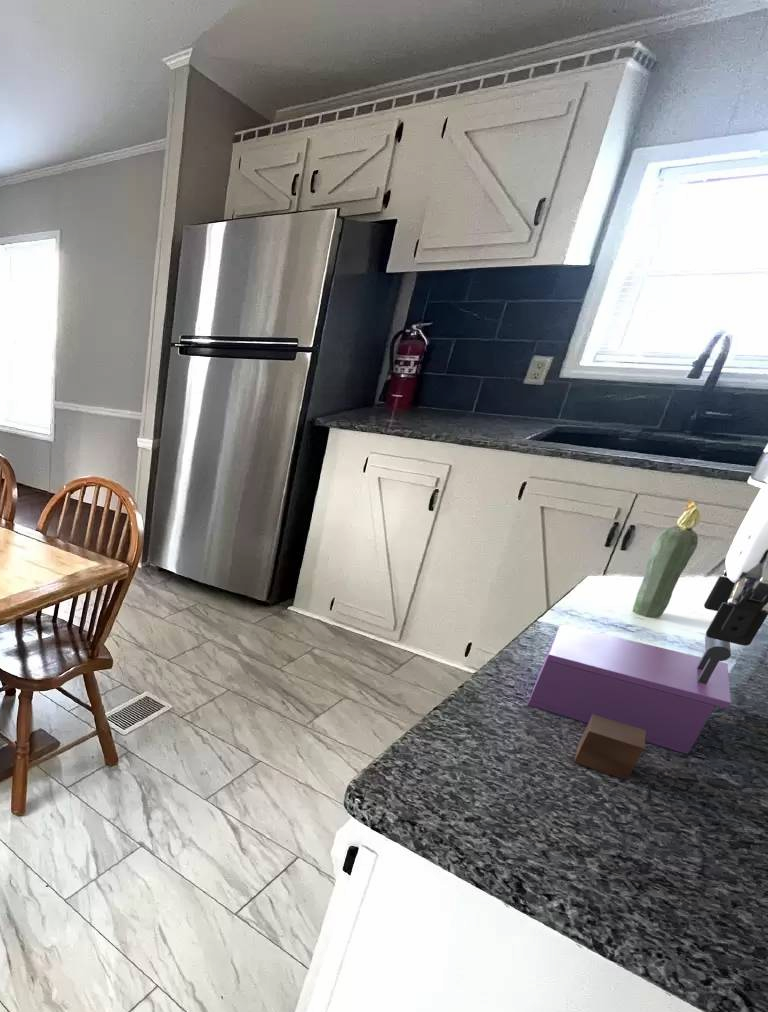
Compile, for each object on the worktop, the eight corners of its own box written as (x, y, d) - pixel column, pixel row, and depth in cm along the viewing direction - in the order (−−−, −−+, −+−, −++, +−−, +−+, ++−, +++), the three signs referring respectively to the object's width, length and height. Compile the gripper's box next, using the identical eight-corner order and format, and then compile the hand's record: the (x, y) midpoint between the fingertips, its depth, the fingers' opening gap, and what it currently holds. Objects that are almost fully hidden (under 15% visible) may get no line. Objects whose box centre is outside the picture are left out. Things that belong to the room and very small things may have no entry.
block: (629, 761, 71) (646, 730, 70) (627, 780, 69) (644, 748, 67) (577, 744, 74) (592, 713, 72) (573, 762, 72) (588, 730, 70)
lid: (724, 669, 76) (747, 628, 74) (728, 709, 69) (754, 664, 66) (557, 628, 86) (573, 591, 84) (546, 659, 79) (563, 620, 76)
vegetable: (656, 633, 98) (718, 508, 89) (618, 625, 100) (674, 503, 92) (655, 623, 100) (715, 501, 92) (618, 615, 103) (672, 496, 95)
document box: (687, 712, 79) (713, 666, 76) (687, 754, 72) (715, 706, 69) (540, 671, 89) (557, 629, 86) (527, 704, 82) (546, 660, 79)
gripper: (889, 500, 56) (783, 666, 63) (855, 466, 66) (768, 611, 74) (760, 484, 60) (676, 640, 68) (748, 455, 71) (677, 592, 79)
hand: (724, 625), depth 71 cm, fingers open, 9 cm apart
